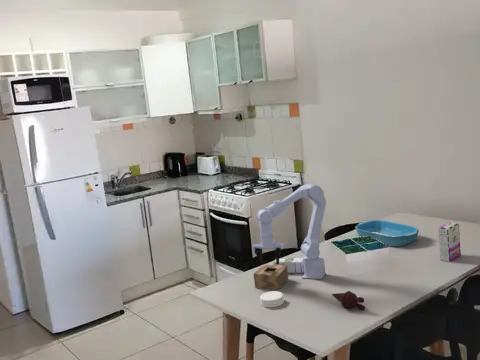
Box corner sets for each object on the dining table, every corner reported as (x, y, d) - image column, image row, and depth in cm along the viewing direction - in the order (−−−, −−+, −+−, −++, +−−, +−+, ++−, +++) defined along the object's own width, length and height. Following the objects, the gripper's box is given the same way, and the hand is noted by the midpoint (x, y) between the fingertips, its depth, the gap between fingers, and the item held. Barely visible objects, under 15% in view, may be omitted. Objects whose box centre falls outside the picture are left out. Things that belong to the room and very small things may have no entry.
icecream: (325, 292, 207) (358, 303, 197) (335, 282, 212) (368, 292, 202) (328, 306, 210) (361, 317, 200) (338, 295, 215) (370, 306, 205)
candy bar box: (451, 253, 252) (449, 221, 249) (461, 255, 248) (459, 222, 245) (439, 260, 245) (437, 227, 242) (449, 262, 241) (448, 228, 238)
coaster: (267, 310, 213) (266, 302, 212) (256, 302, 222) (256, 294, 222) (288, 303, 217) (287, 296, 216) (277, 296, 226) (276, 288, 225)
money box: (288, 279, 243) (286, 265, 242) (279, 289, 233) (277, 275, 232) (264, 278, 248) (263, 264, 247) (255, 287, 238) (253, 273, 237)
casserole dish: (428, 240, 275) (427, 227, 274) (399, 251, 264) (398, 238, 263) (376, 229, 306) (375, 217, 305) (348, 238, 295) (347, 226, 294)
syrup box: (274, 273, 253) (303, 273, 249) (273, 262, 252) (302, 261, 248) (276, 269, 259) (305, 268, 254) (275, 257, 257) (304, 257, 253)
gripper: (284, 232, 238) (287, 260, 240) (254, 233, 243) (257, 260, 245) (280, 237, 231) (283, 266, 234) (249, 237, 236) (253, 266, 238)
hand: (269, 263), depth 239 cm, fingers open, 7 cm apart
